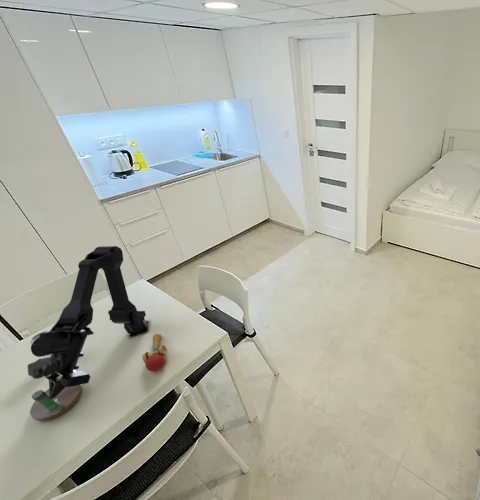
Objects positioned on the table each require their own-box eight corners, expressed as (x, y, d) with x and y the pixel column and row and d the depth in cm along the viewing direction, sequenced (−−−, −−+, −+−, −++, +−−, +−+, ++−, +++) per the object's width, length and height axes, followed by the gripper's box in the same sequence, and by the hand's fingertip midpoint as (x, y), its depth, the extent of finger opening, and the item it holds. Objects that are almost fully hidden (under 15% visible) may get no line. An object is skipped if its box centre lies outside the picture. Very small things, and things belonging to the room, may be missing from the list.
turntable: (33, 399, 97) (10, 381, 91) (80, 375, 104) (62, 357, 98) (32, 430, 89) (7, 413, 83) (84, 402, 96) (64, 384, 90)
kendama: (146, 346, 117) (143, 378, 103) (143, 334, 115) (139, 365, 100) (168, 341, 121) (168, 371, 107) (166, 329, 118) (165, 358, 104)
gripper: (21, 343, 89) (0, 394, 87) (56, 362, 83) (35, 418, 81) (64, 339, 99) (47, 385, 97) (99, 357, 93) (81, 406, 91)
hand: (52, 397), depth 91 cm, fingers closed, pressing on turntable
